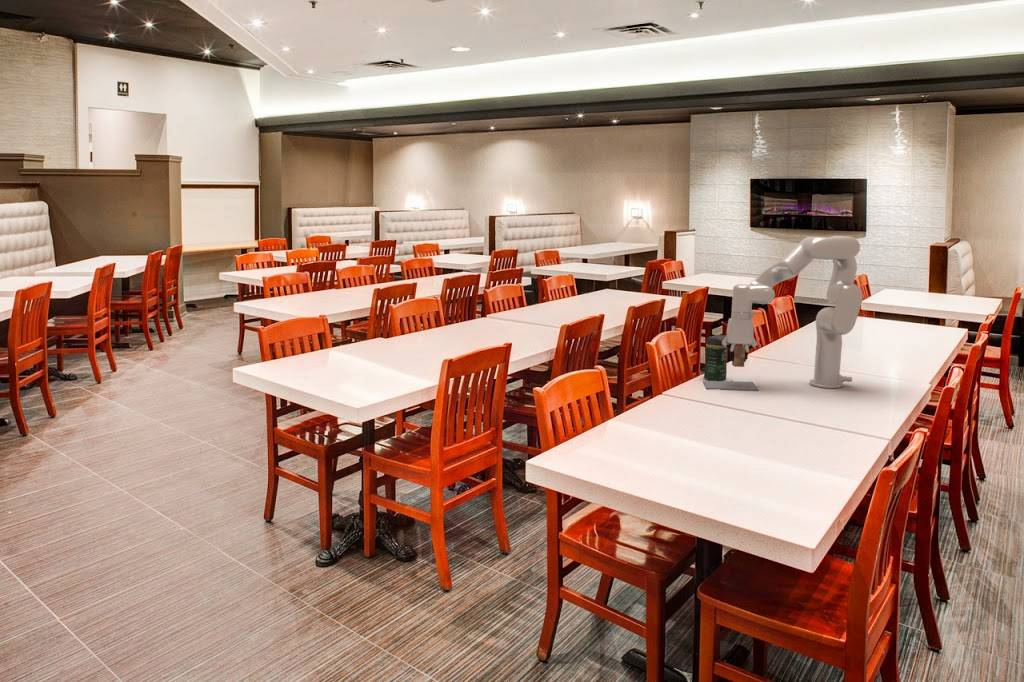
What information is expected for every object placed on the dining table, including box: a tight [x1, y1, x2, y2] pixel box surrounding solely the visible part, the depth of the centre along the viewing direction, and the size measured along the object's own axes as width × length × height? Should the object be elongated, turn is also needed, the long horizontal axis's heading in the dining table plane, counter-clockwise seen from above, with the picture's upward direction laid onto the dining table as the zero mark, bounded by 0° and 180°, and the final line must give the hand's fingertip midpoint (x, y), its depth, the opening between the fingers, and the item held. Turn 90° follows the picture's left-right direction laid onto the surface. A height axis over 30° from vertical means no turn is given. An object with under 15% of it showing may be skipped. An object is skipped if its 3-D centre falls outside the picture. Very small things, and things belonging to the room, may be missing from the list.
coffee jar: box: [703, 334, 729, 381], centre depth 315 cm, size 10×8×19 cm
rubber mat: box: [702, 380, 759, 392], centre depth 304 cm, size 20×13×1 cm, turn 83°
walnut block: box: [731, 344, 745, 368], centre depth 301 cm, size 4×4×8 cm
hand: (738, 360), depth 302 cm, fingers closed on walnut block, 4 cm apart
